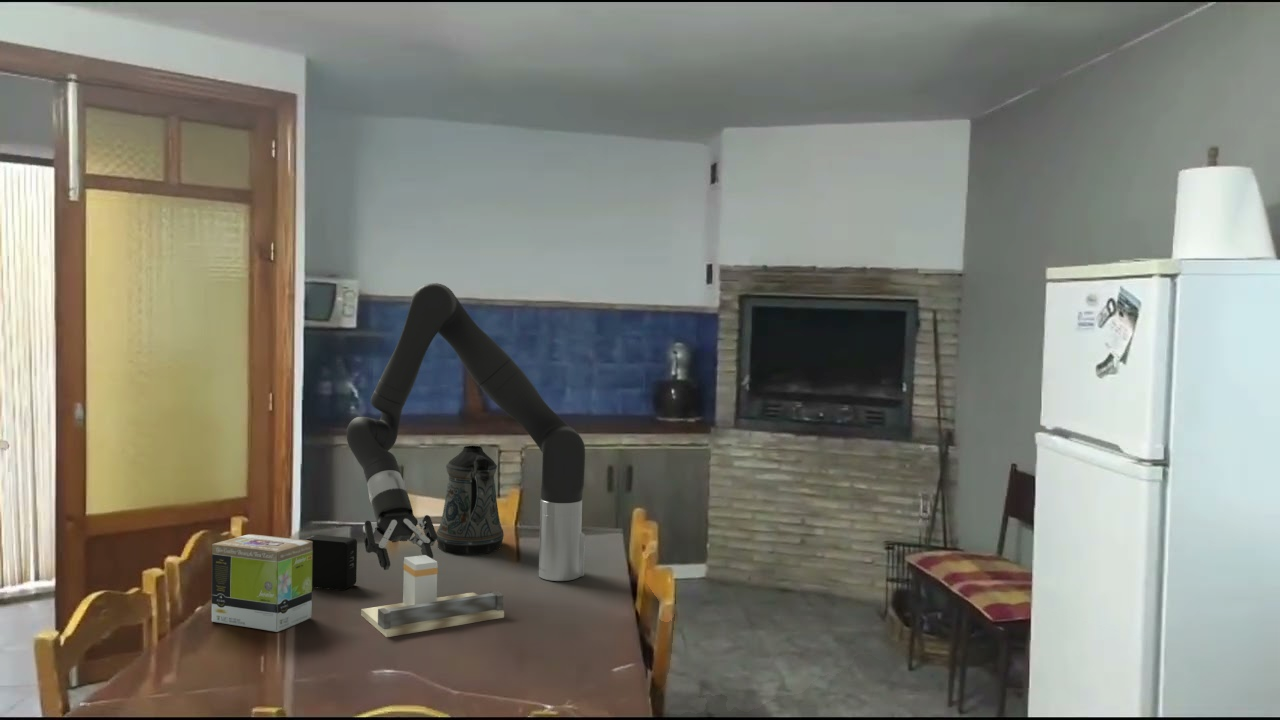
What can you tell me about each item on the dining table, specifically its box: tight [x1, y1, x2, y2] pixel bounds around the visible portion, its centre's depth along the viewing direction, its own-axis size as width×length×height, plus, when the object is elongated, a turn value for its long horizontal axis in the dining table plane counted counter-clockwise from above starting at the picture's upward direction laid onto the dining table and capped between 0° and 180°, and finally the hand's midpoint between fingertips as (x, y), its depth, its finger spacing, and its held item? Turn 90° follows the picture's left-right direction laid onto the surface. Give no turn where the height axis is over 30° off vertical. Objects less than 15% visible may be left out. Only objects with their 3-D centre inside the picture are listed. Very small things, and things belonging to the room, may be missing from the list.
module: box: [402, 554, 439, 606], centre depth 180 cm, size 4×6×9 cm
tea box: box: [211, 533, 313, 633], centre depth 173 cm, size 15×10×15 cm, turn 71°
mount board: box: [360, 590, 505, 638], centre depth 178 cm, size 23×14×4 cm, turn 125°
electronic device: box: [304, 534, 358, 591], centre depth 196 cm, size 4×10×10 cm, turn 79°
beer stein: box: [436, 445, 505, 556], centre depth 231 cm, size 16×19×25 cm
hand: (408, 565), depth 186 cm, fingers open, 8 cm apart
